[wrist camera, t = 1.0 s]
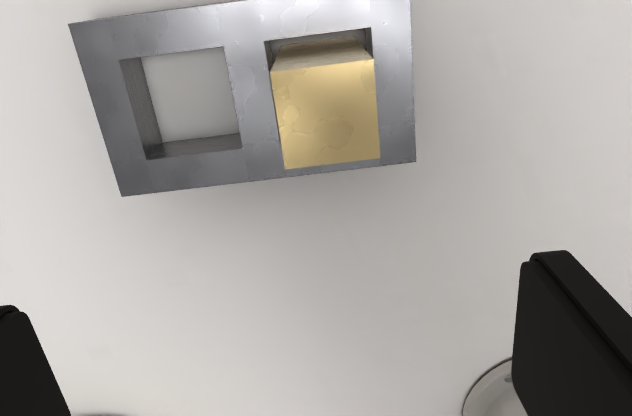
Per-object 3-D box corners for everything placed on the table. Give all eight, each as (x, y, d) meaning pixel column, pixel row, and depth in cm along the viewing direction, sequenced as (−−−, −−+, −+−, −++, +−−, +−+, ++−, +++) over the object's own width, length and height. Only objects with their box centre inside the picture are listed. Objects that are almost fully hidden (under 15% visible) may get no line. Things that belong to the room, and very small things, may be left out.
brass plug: (353, 36, 30) (373, 59, 21) (359, 107, 32) (380, 158, 23) (281, 45, 30) (269, 72, 21) (291, 116, 32) (285, 169, 23)
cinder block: (397, -21, 29) (408, -22, 25) (405, 144, 33) (416, 162, 29) (94, 19, 29) (68, 23, 26) (139, 176, 33) (121, 196, 30)
